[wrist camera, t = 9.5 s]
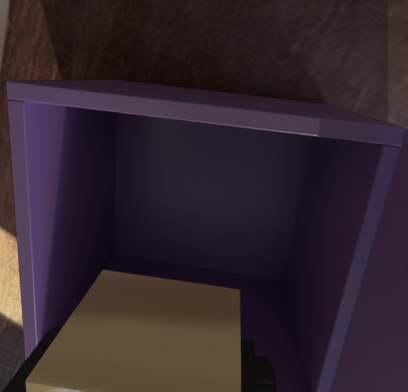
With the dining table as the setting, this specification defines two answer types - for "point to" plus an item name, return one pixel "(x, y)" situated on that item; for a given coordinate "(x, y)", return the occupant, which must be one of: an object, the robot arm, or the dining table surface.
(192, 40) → the dining table surface
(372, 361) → the lid
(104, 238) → the box
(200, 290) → the block
